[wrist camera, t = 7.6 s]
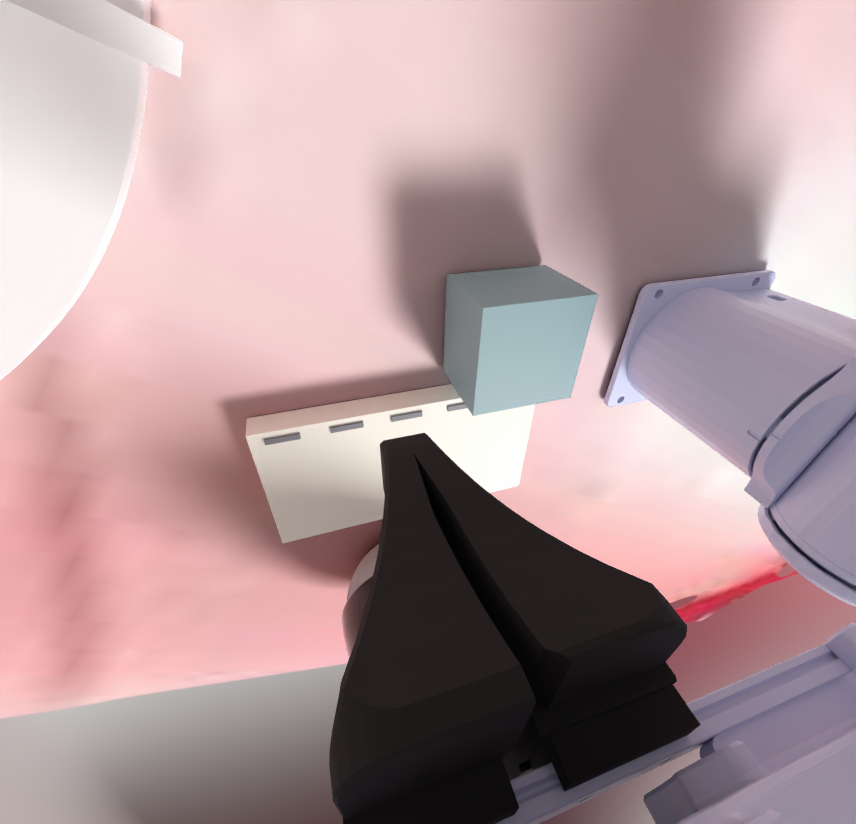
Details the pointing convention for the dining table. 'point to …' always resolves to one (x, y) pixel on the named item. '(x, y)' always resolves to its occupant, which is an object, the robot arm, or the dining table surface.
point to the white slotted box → (373, 453)
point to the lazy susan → (66, 149)
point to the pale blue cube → (514, 336)
